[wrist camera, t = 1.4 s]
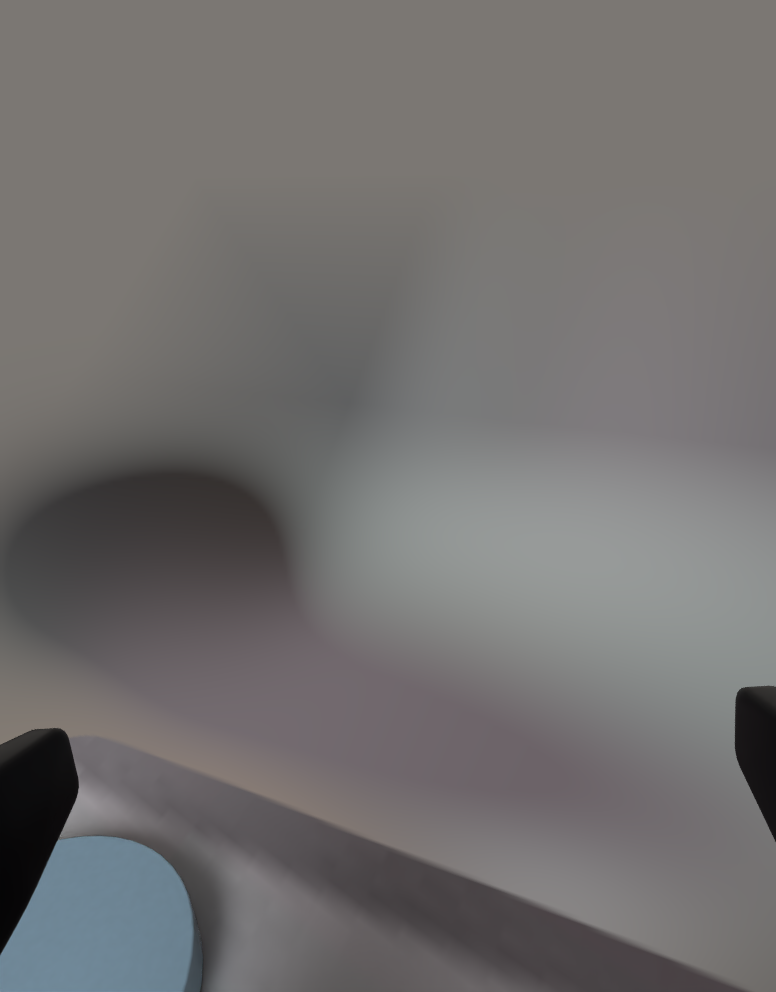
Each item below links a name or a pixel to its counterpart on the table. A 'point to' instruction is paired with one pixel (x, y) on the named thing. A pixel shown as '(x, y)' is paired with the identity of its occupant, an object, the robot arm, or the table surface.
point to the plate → (105, 924)
